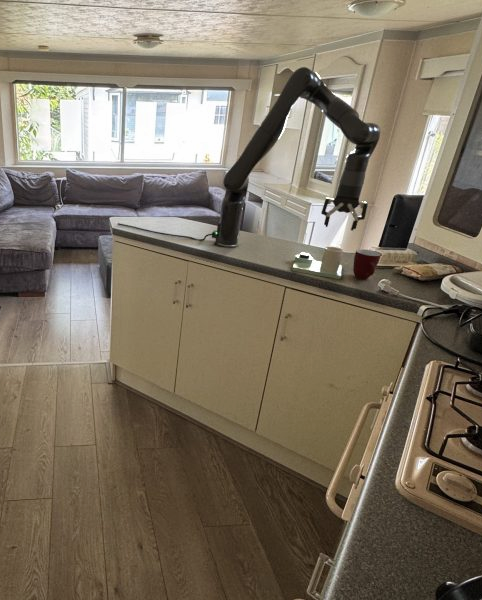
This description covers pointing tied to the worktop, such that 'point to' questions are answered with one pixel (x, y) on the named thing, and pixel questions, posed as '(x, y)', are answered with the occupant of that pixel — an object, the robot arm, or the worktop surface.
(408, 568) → the worktop surface
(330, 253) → the cream cup
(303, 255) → the tare button
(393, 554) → the worktop surface
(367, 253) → the mug
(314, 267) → the scale
